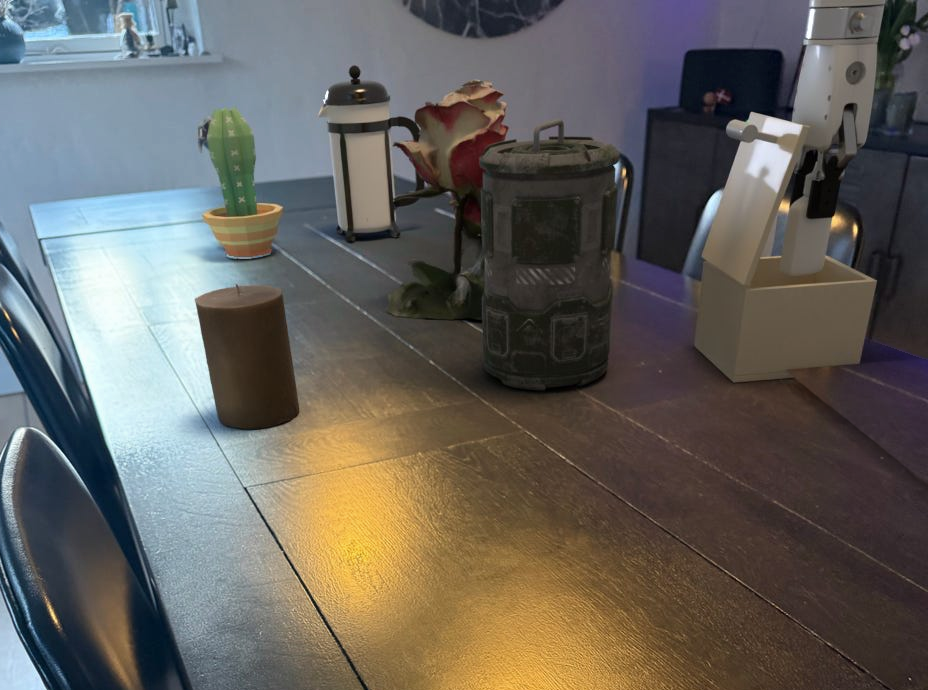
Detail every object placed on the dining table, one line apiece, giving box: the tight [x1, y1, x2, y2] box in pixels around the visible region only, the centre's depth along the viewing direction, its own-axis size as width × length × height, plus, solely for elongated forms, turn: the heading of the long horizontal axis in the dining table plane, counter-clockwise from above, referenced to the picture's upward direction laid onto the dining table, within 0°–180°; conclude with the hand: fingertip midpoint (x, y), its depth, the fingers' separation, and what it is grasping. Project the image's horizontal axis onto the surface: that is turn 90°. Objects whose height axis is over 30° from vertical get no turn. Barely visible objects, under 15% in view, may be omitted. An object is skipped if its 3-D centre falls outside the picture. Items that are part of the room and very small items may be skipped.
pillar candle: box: [194, 283, 300, 430], centre depth 106 cm, size 10×10×15 cm
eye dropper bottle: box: [779, 162, 833, 276], centre depth 109 cm, size 4×6×12 cm
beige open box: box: [693, 254, 878, 383], centre depth 115 cm, size 16×15×11 cm
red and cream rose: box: [367, 79, 510, 321], centre depth 139 cm, size 26×29×30 cm
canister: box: [479, 118, 621, 392], centre depth 110 cm, size 16×16×28 cm
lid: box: [700, 111, 810, 287], centre depth 107 cm, size 16×15×5 cm
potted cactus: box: [195, 107, 284, 257], centre depth 175 cm, size 15×15×25 cm
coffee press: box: [317, 64, 426, 243], centre depth 184 cm, size 17×16×30 cm
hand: (811, 212), depth 109 cm, fingers closed on eye dropper bottle, 4 cm apart
